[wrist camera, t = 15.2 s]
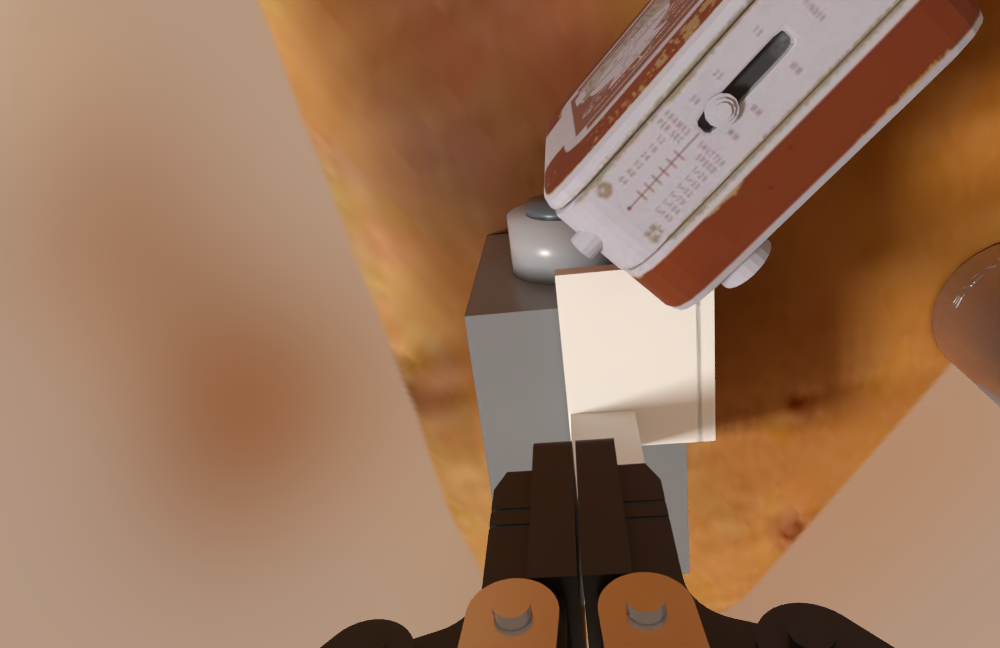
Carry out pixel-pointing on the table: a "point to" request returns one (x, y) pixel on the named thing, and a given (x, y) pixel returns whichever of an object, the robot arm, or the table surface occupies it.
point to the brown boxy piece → (732, 125)
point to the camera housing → (539, 354)
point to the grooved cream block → (634, 363)
